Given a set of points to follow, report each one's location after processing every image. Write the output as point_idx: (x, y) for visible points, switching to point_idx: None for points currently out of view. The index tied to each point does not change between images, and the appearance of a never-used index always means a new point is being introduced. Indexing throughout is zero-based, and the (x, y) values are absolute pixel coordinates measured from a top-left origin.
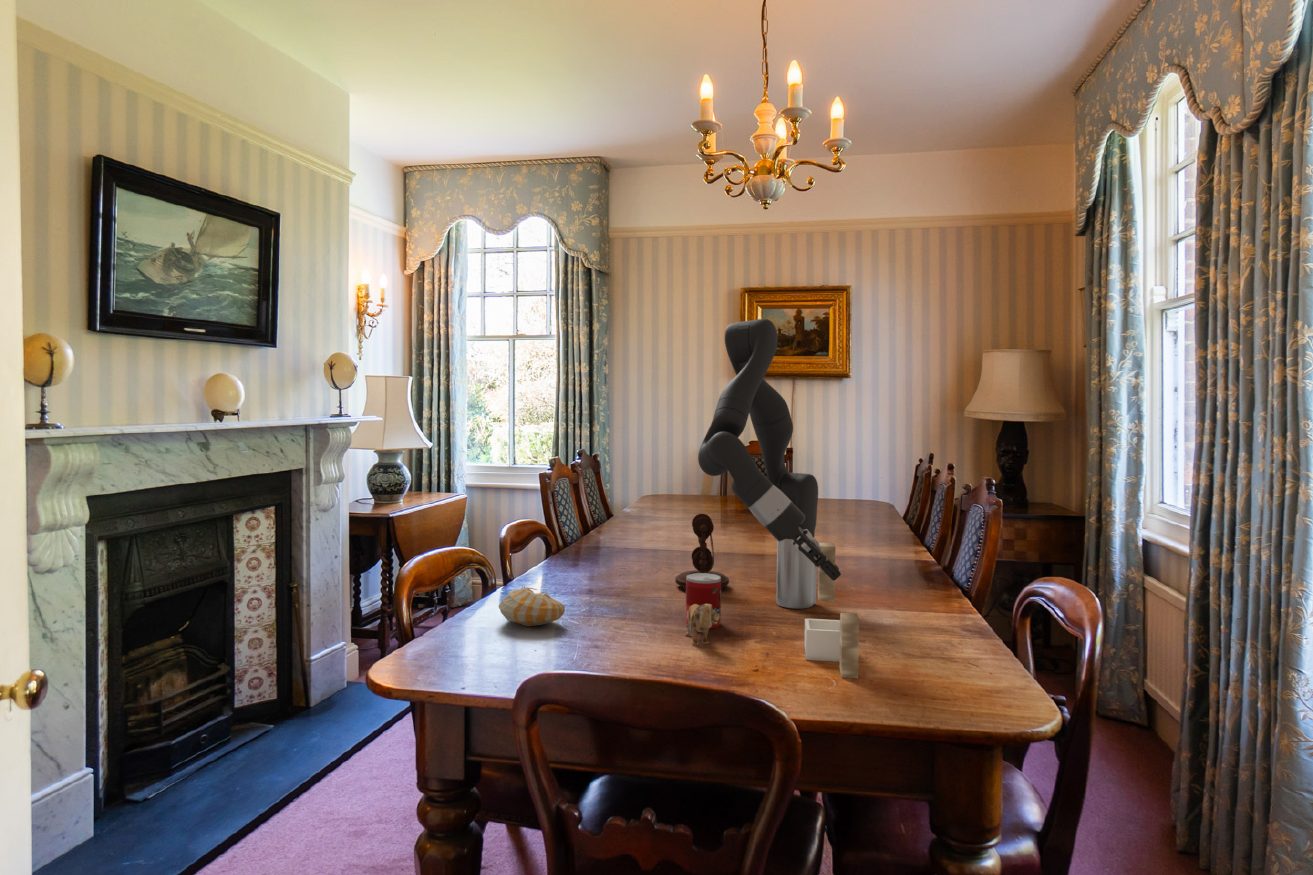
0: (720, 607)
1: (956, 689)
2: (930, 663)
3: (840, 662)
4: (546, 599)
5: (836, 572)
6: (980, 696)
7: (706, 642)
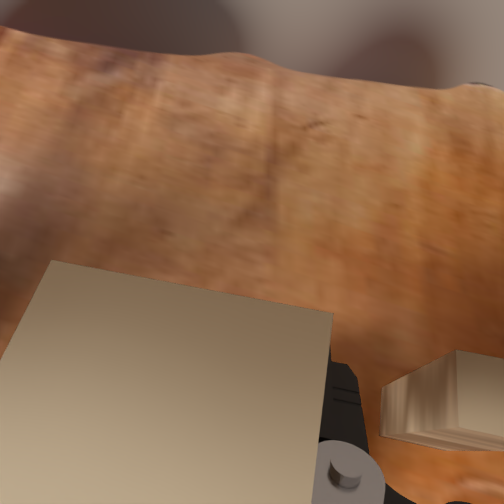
0: None
1: (466, 201)
2: (309, 193)
3: (423, 442)
4: None
5: (357, 381)
6: (495, 175)
7: None
